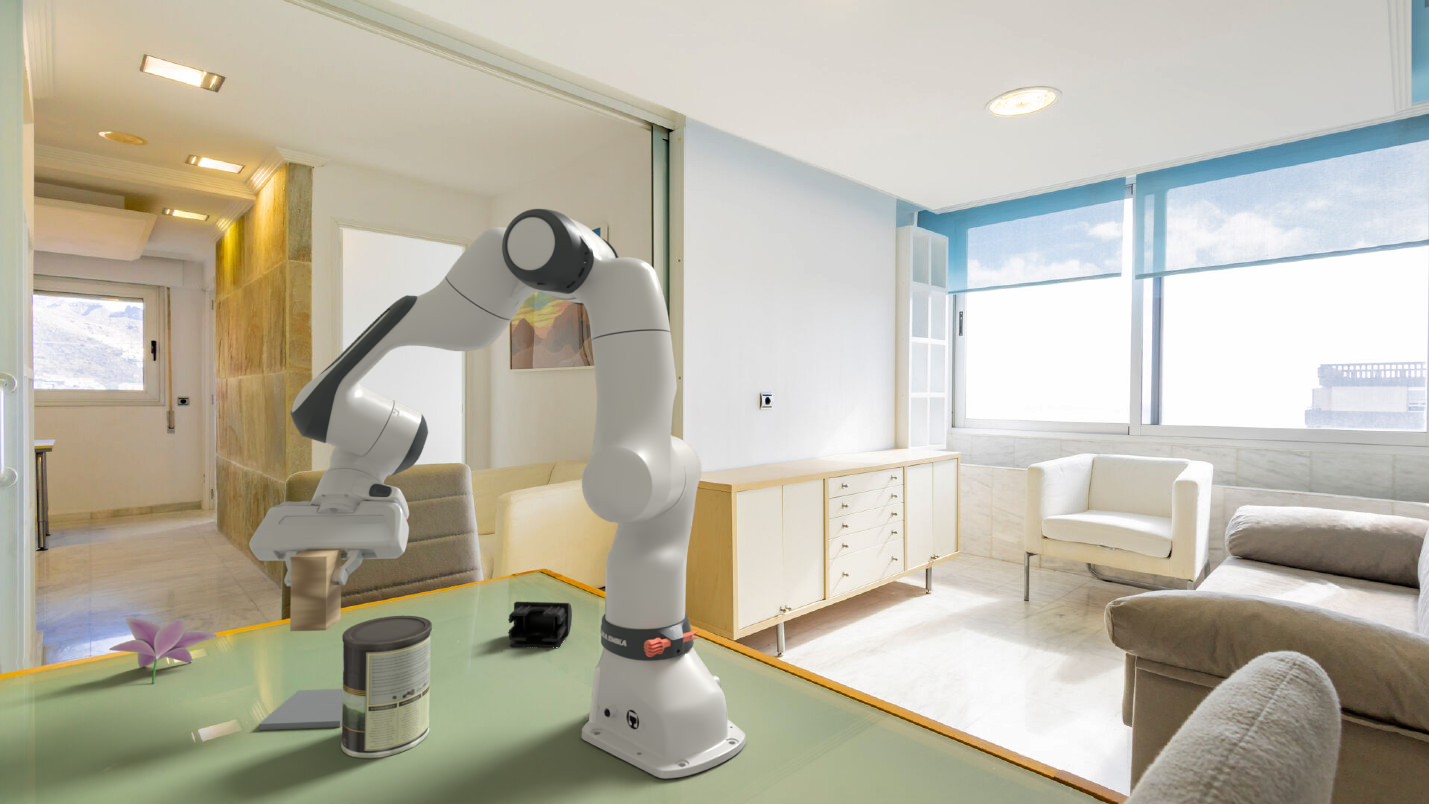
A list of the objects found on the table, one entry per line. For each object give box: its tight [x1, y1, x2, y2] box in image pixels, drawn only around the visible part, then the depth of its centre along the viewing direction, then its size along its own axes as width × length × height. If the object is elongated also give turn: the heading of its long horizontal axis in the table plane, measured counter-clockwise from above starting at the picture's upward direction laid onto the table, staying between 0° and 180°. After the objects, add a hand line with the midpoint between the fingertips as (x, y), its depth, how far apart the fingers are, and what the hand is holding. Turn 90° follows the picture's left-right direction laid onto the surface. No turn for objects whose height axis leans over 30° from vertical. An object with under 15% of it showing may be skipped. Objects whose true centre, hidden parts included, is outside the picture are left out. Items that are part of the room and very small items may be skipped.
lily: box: [108, 617, 218, 684], centre depth 102 cm, size 12×12×10 cm
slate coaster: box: [258, 688, 343, 731], centre depth 91 cm, size 10×10×1 cm
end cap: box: [507, 601, 573, 649], centre depth 119 cm, size 10×7×7 cm
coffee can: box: [340, 615, 433, 759], centre depth 84 cm, size 10×10×14 cm
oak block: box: [289, 550, 342, 632], centre depth 91 cm, size 4×4×10 cm
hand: (314, 583), depth 90 cm, fingers closed on oak block, 4 cm apart
